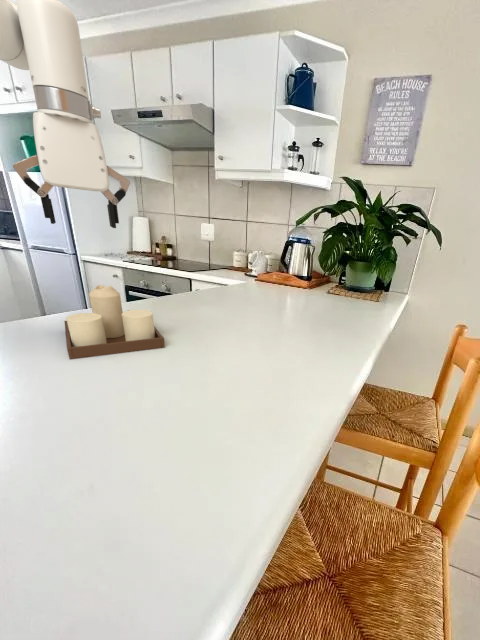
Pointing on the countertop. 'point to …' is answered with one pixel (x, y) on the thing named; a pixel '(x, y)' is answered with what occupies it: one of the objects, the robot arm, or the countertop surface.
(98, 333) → the cream candle left
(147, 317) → the cream candle right
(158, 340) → the tray
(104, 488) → the countertop surface
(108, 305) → the candle
